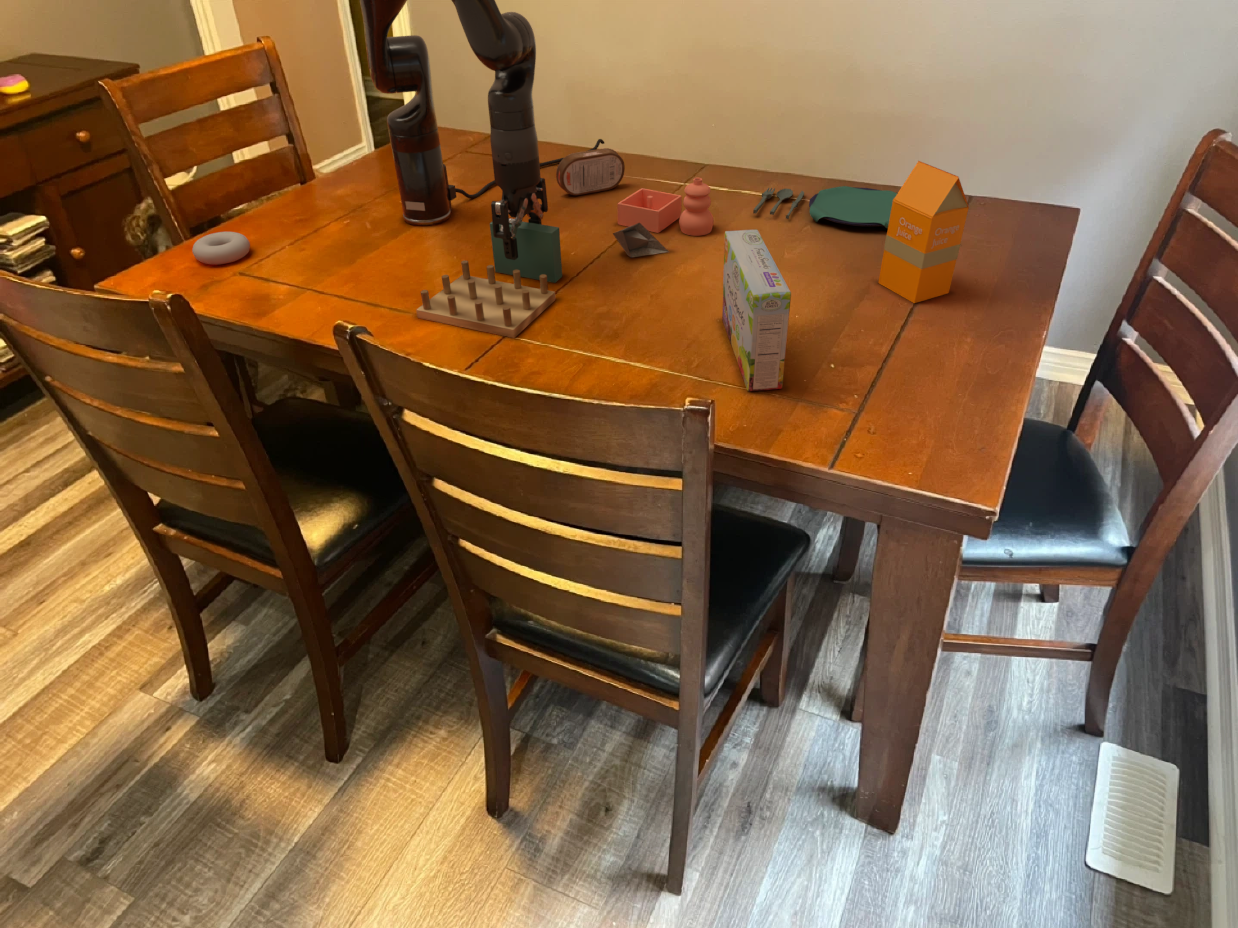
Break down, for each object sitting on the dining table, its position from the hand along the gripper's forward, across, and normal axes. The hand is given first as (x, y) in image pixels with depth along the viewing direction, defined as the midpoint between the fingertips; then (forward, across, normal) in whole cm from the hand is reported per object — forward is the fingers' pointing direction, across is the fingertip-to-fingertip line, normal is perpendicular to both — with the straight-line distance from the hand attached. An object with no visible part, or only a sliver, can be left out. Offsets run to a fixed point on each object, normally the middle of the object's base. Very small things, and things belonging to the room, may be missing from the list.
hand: (524, 249), depth 147 cm
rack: (+5, +13, 0) cm, 14 cm away
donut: (+5, +14, -57) cm, 59 cm away
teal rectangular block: (+5, -1, 0) cm, 5 cm away
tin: (+5, -42, -8) cm, 42 cm away
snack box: (+5, +11, +44) cm, 46 cm away
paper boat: (+5, -15, +15) cm, 22 cm away
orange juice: (+5, -20, +63) cm, 66 cm away
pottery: (+5, -31, +15) cm, 34 cm away
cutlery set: (+5, -49, +42) cm, 65 cm away
